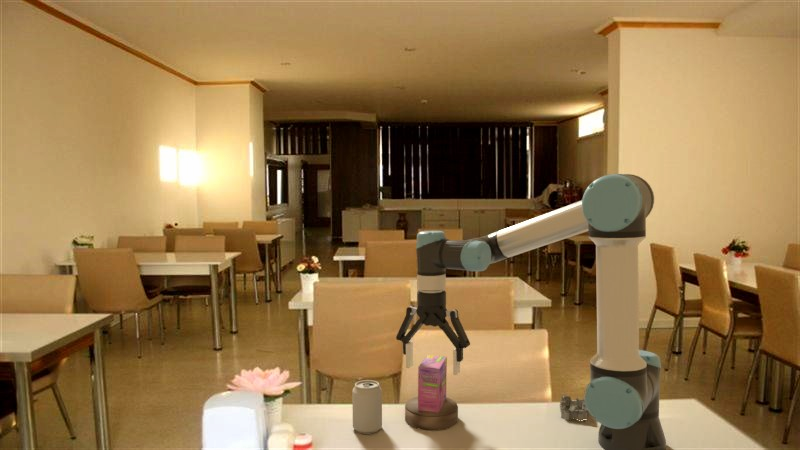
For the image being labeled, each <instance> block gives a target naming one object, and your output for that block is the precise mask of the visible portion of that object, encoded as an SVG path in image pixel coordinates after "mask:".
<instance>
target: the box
mask: <svg viewBox="0 0 800 450" xmlns="http://www.w3.org/2000/svg"><path fill="white" fill-rule="evenodd" d="M447 364H448V357H447V356H443V355H430V354H428V355H426V356H425V357H424V359H422V362H421V363H420V364H419V365H418V367H417V369H418V370H417V372H418V373H417V381H418V382H417V391H418V392H417V397H418V411H424V412H433V413H439V411H440V409H441V407H442V405H443V404H444V402H445V400H446V398H447V373H448V372H447V368H448V365H447Z"/></svg>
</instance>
